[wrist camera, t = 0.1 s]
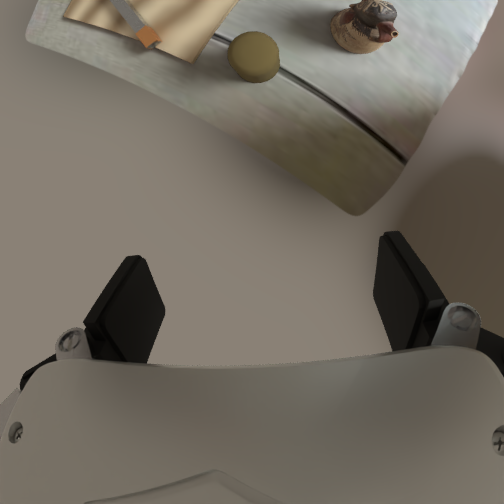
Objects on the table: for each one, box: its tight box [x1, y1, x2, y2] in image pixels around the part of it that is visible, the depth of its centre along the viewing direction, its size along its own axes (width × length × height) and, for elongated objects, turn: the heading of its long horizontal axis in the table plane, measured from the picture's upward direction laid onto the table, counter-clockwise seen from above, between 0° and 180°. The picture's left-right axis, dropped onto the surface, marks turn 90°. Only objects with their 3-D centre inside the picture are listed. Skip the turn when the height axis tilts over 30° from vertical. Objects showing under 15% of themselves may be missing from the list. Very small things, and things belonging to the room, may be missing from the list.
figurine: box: [330, 0, 398, 54], centre depth 23 cm, size 7×7×12 cm
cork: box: [228, 32, 280, 83], centre depth 27 cm, size 6×6×11 cm
